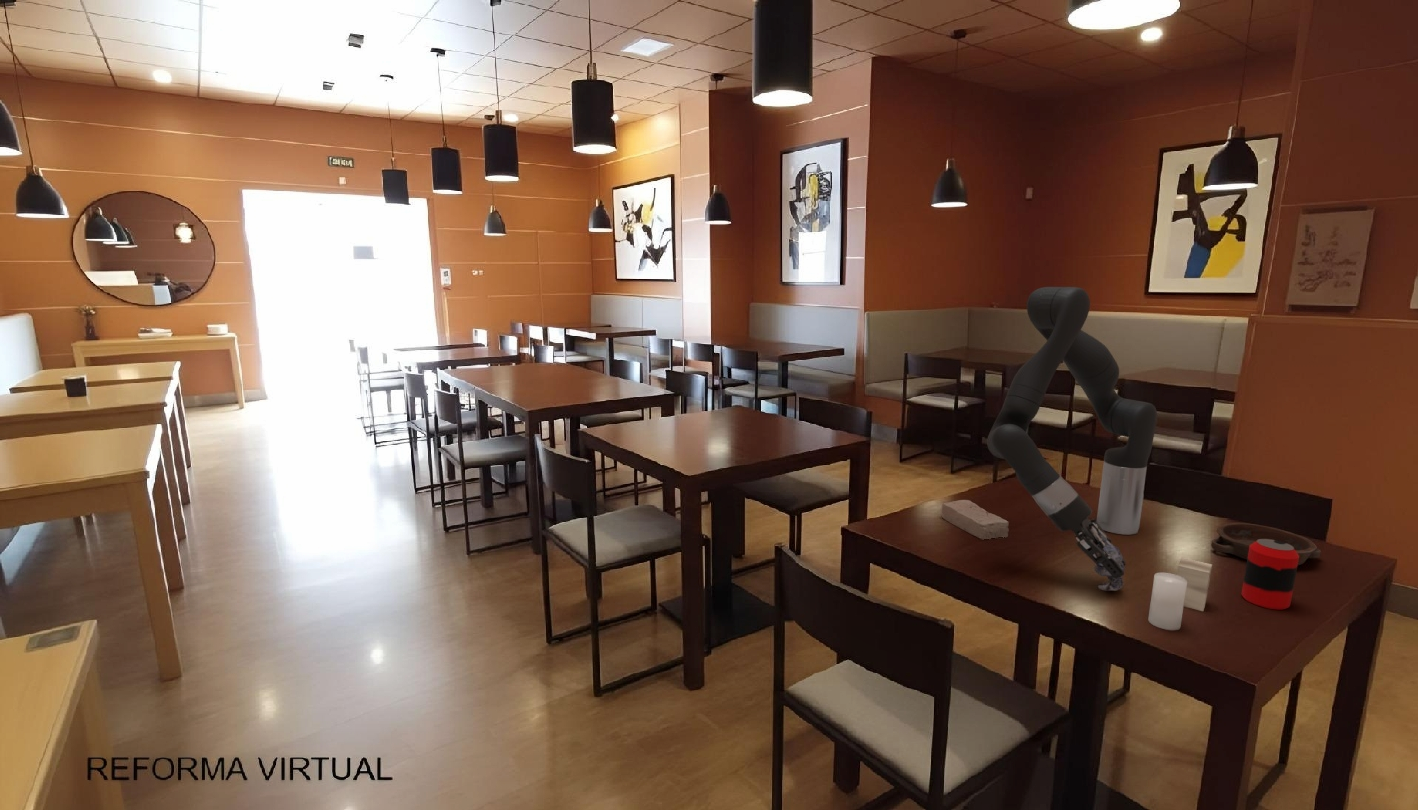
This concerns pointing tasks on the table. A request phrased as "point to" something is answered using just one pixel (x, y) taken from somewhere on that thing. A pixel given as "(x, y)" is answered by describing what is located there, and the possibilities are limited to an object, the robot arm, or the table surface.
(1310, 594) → the table surface
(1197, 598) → the birch block
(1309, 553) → the dish
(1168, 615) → the ceramic cylinder
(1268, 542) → the soda can
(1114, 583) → the fossil stone
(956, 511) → the brick
